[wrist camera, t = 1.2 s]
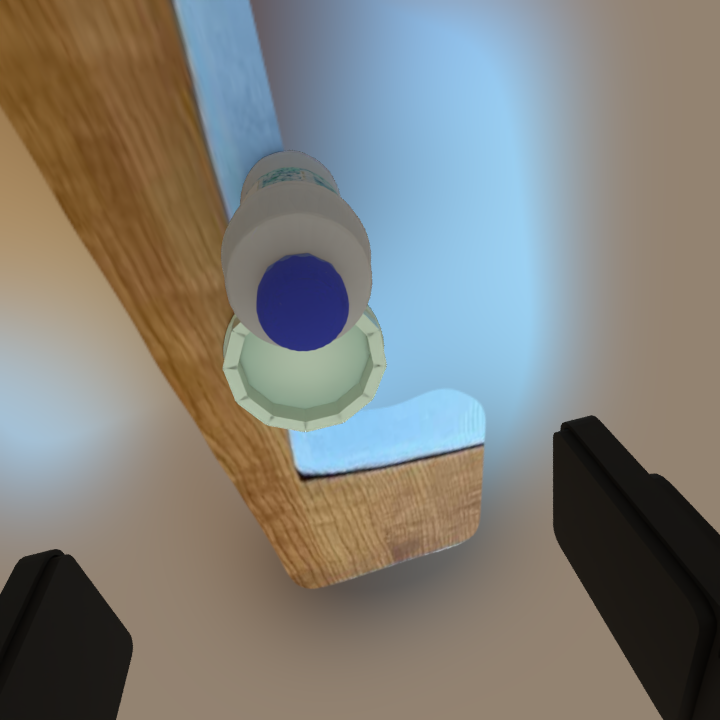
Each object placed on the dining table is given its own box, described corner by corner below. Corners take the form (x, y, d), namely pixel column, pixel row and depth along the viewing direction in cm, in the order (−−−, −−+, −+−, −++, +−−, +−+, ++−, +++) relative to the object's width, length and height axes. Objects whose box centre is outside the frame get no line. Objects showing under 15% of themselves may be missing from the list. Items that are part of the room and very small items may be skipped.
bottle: (243, 134, 33) (206, 211, 15) (346, 151, 34) (418, 239, 17) (237, 237, 36) (201, 397, 19) (331, 249, 37) (380, 407, 20)
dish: (200, 299, 38) (196, 312, 36) (367, 259, 38) (372, 270, 36) (251, 430, 44) (250, 448, 42) (393, 396, 44) (399, 412, 42)
